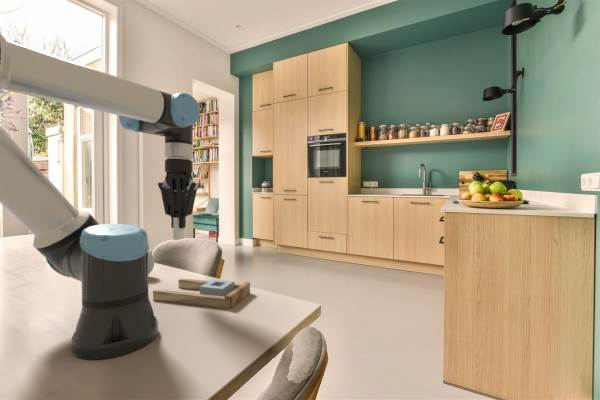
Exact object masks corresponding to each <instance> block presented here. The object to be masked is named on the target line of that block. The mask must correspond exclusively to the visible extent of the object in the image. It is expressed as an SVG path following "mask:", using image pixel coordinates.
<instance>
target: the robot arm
mask: <svg viewBox="0 0 600 400" xmlns="http://www.w3.org/2000/svg"><path fill="white" fill-rule="evenodd" d="M2 90H4V91H10V92H13V93H18V94H22V95H26V96H27V95H28V96H31V97H36V98H40V99H45V100H50V101H52V102H53V101H54V102H56V103H57V102H58V103H62V104H68V105H72V106H75V107H81V108H85V109H89V110H94V111H97V112H102V113H106V114H111V115H116V116H118V121H119V123H120V126H122V128H123V129H124V130H129V131H131V132H132V131H133V132H135V133H143V134H149V135H156V136H161V137H164V157H165V158H166V159H165V160H164V172H165V173H166V174H165V178H164V180H163V181H162V182H158V183H157V186H158V188H159V190H160V194H161V197H162V203H163V210H164V214H165V215H166V216H169V217H170V219H171V222H170V223H171V228H172V239H173V240H174V241H180V240H183V239H184V229H185V228H186V220H187V219H186V218H187V217H188V216H191V215H192V214H193V211H194V205H195V200H196V197H197V191H198V189H199V188H200V186H201V184H200V183H199V182H195V181H194V180H193V176H192V173H193V160H191V159H193V139H194V138H193V137H194V135H193V132H194V131H193V130H194V129H193V128H194V127H193V126H194V125H196V123H198V121H199V119H200V116H201V115H200V114H201V112H200V105H199V103H198V101H197V99H196V98H195V97H194V96H193V95H191V94H189V93H185V92H180V93H179V92H176V93H174V94H171V93H168V92H164V91H162V90H160V89H159V90H158V89H155V88H152V87H150V86H149V87H148V86H145V85H143V84H140V83H137V82H134V81H131V80H128V79H125V78H121V77H120V76H116V75H113V74H110V73H107V72H103V71H100V70H98V69H95V68H92V67H89V66H86V65H83V64H79V63H76V62H73V61H71V60H68V59H65V58H62V57H58V56H56V55H53V54H50V53H46V52H44V51H41V50H37V49H34V48H32V47H28V46H25V45H22V44H20V43H16V42H14V41H11V40H8V39H7V38H6V37H5V36H4V35H3V34H2V32H1V31H0V91H2ZM0 204H1V205H2V206H3V207H4V208H5V209H6V210H7V211H8V212H9V213H10V214H12V215H13V216H14V217H15V218H16V220H18V222H20V223H21V224H22V225H23V226H24V227H25V228H26V229H27V230H28V231H30V232H31V234H33V235H34V237H33V238H34V239H33V243H32V246H33V248H35V250H37V251H38V252H39V253H40V254H41V255H42V256H43V258H45V260H46V262H47V264H48V265H49V267H50V268H51V269H52V270H53V271H54V272H55V273H57V274H59V275H62V277H63V276H64V277H67V278H72V279H74V280H76V281H79V282H80V283H81V305H82V306H81V312H80V314H79V318H78V320H77V323H76V327H75V331H74V332H73V334H72V337H71V340H70V341H71V353H72V355H74V356H75V357H77V358H79V359H84V360H102V359H108V358H114V357H119V356H122V355H126V354H128V353H129V354H130V353H132V352H134V351H137V350H139V349H141V348H143V347H145V346H147V345H148V344H150V343H151V342H152V341H154V339H156V337H157V335H158V334H159V333H158V332H159V328H158V327H159V322H158V319H157V316H155V314H154V310H153V306H152V304H151V301H150V298H149V296H150V295H149V274H148V251H149V250H150V249H149V248H150V245H149V240H148V232H146V230H145V229H144V228H142V227H140V226H137V225H133V224H122V223H102V224H100V223H99V222H98V221H97V220H96V218H95V217H93V215H92V214H91V213H90V212H89V211H88V210H87V211H86V210H79V209H76V208H75V207H74V205H73V204H72V203H70V201H69V200H68V199H67V198H66V197H65V196H64V195H63V194H62V192H61V191H60V190H59V189H58V188H57V187H56V186H55V185H54V183H53V182H51V180H50V179H49V178H48V177H47V176H46V175H45V174H44V173H43V172H42V170H41V169H40V168H39V167H38V166H37V165H36V164H35V162H33V160H32V159H31V158H30V157H29V156H28V155H27V154H26V153H25V152H24V151H23V149H21V147H20V146H19V145H18V144H17V143H16V142H15V140H14V139H13V138H12V137H11V135H9V134H8V133H7V131H6V130H4V128H3V127H2V126H1V125H0Z"/></svg>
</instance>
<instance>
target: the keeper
mask: <svg viewBox="0 0 600 400" xmlns="http://www.w3.org/2000/svg"><path fill="white" fill-rule="evenodd" d="M209 281H210V282H208V283H206V284H204V285H202V286H200V290H199V294H205V295H214V296H223V297H225V296H226V295H227V294H229V293H230V292H232V291H233V290H234V283H235V281H234V280H225V279H223V280H222V279H212V280H209Z"/></svg>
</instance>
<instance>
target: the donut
mask: <svg viewBox="0 0 600 400" xmlns="http://www.w3.org/2000/svg"><path fill="white" fill-rule="evenodd" d="M154 267H155V258H154V255H153V254H152V253H151V252H150V251H149V250H148V275H150V274H151V273H152V272H153V270H154Z"/></svg>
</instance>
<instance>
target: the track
mask: <svg viewBox="0 0 600 400" xmlns="http://www.w3.org/2000/svg"><path fill="white" fill-rule="evenodd" d="M177 281H178V288H180V289H188V290H189V289H190V290H197V291H198V290H199V291H200V286H202V285H204V284H206V283H208V282H210V281H211V280H203V279H191V278H178V280H177ZM250 294H251V282H247V281H245V282H244V283H235V282H234V290H233V291H232V292H230V293H229V294H227V295H226V296H225V297H223V296H214V295H205V294H200V293H195V292H185V291H179V290H178V291H177V290H167V289H159V288H157V289H154V290H153V291H152V300H154V301H160V302H161V301H162V302H171V303H176V304H187V305H194V306H201V307H202V306H203V307H211V308H219V309H227V310H230V309H232V308H233V307H234V306H235V305H237V304H238V303H239V302H241V301H242V300H244V299H245V298H246V297H247V296H248V295H250Z"/></svg>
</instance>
